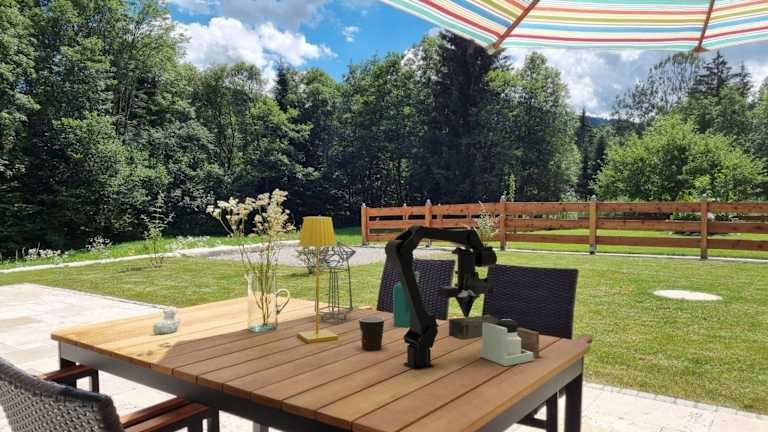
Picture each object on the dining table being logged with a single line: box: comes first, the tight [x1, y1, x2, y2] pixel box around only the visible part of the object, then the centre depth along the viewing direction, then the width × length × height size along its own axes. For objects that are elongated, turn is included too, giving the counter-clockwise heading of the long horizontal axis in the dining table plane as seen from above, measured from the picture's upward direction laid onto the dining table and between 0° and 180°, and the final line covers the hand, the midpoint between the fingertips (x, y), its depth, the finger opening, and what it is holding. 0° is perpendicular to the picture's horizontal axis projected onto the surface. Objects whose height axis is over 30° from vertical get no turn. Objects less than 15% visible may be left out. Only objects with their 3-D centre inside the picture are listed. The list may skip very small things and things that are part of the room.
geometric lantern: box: [309, 239, 357, 324], centre depth 211 cm, size 16×16×35 cm
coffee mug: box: [358, 316, 385, 352], centre depth 170 cm, size 12×9×10 cm
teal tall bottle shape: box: [392, 271, 420, 328], centre depth 204 cm, size 10×8×22 cm
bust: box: [152, 305, 181, 335], centre depth 191 cm, size 12×8×11 cm
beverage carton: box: [448, 314, 500, 340], centre depth 189 cm, size 8×19×7 cm, turn 119°
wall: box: [517, 327, 540, 360], centre depth 161 cm, size 2×8×8 cm, turn 30°
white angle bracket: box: [479, 322, 534, 367], centre depth 157 cm, size 12×12×11 cm
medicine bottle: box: [498, 318, 521, 357], centre depth 157 cm, size 7×7×12 cm
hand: (466, 317), depth 158 cm, fingers closed
